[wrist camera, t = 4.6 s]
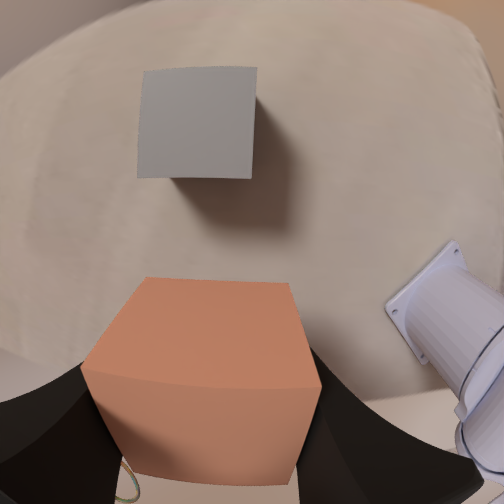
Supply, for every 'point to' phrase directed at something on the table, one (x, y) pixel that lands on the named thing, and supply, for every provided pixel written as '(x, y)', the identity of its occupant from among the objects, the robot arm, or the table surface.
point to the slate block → (197, 122)
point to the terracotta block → (206, 381)
